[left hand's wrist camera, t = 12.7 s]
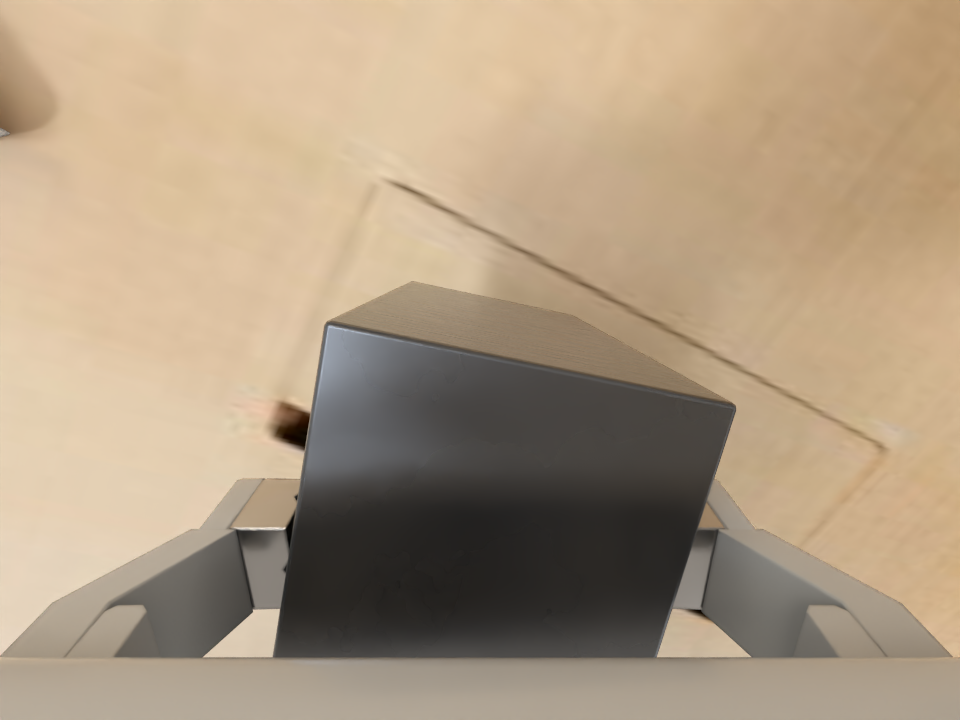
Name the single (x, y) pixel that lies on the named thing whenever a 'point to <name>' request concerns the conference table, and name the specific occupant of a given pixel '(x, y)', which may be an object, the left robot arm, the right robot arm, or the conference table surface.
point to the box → (492, 486)
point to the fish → (3, 132)
